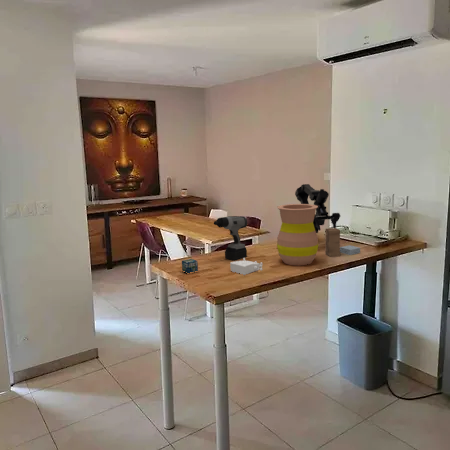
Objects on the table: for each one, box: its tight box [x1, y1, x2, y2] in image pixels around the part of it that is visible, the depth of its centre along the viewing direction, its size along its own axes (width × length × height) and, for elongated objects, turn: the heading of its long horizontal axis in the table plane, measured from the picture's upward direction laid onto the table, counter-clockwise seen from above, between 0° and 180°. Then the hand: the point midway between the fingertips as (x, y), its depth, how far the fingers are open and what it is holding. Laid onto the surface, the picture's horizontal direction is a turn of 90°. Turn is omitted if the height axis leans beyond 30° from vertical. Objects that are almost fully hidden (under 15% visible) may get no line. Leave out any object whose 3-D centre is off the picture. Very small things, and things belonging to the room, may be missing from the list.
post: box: [324, 227, 341, 258], centre depth 239 cm, size 6×6×15 cm
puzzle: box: [181, 258, 199, 273], centre depth 218 cm, size 6×6×6 cm
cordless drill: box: [213, 215, 248, 262], centre depth 237 cm, size 8×24×25 cm, turn 137°
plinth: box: [340, 244, 361, 256], centre depth 245 cm, size 8×8×3 cm
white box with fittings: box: [229, 257, 264, 276], centre depth 218 cm, size 8×20×16 cm
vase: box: [276, 203, 319, 266], centre depth 228 cm, size 22×22×30 cm
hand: (327, 229), depth 245 cm, fingers open, 9 cm apart
